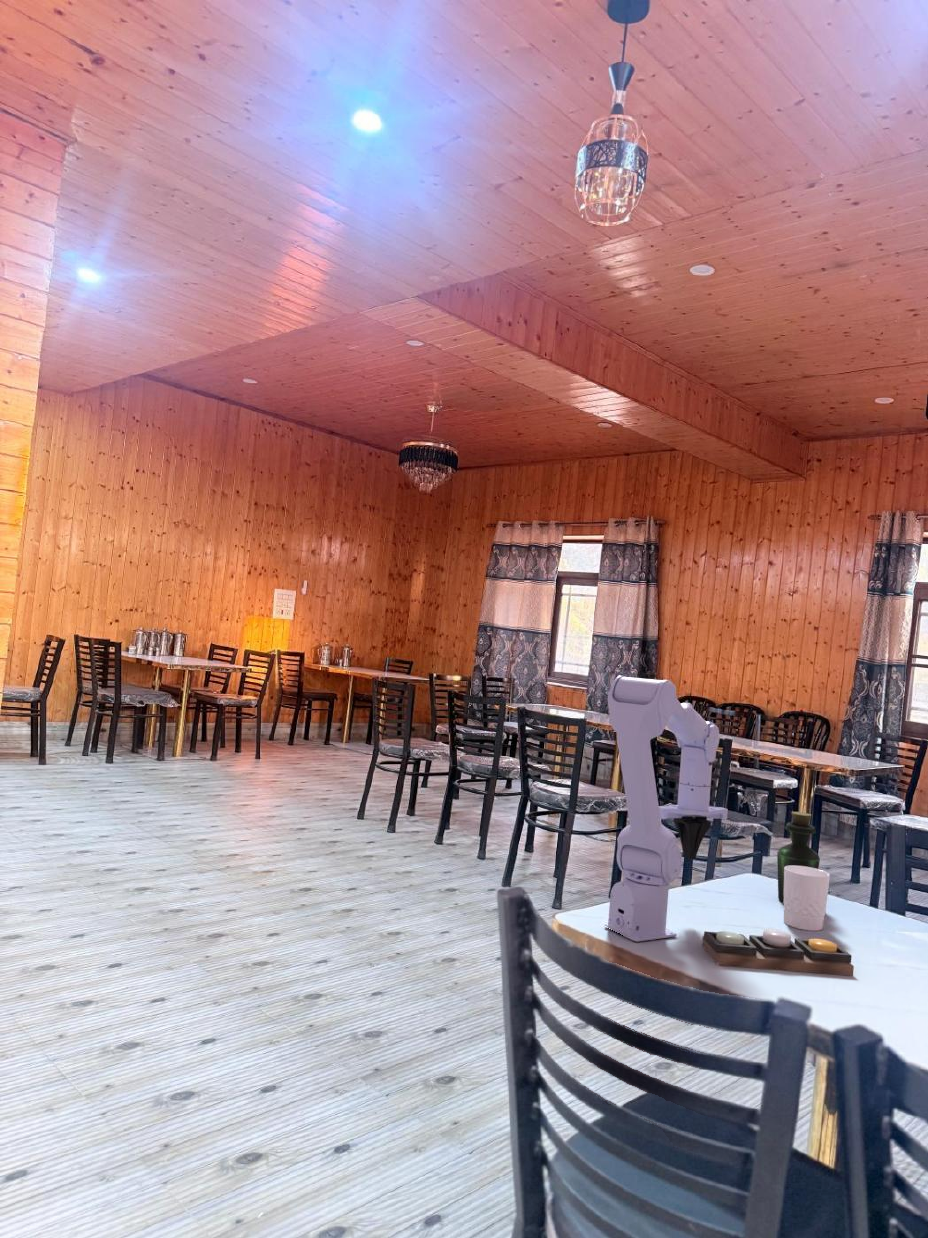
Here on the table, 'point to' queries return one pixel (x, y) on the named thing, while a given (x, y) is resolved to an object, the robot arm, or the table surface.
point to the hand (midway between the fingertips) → (689, 857)
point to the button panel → (778, 956)
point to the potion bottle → (796, 848)
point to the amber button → (822, 945)
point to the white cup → (805, 897)
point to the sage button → (729, 938)
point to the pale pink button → (776, 938)
